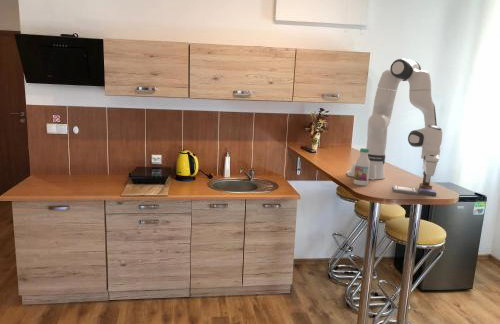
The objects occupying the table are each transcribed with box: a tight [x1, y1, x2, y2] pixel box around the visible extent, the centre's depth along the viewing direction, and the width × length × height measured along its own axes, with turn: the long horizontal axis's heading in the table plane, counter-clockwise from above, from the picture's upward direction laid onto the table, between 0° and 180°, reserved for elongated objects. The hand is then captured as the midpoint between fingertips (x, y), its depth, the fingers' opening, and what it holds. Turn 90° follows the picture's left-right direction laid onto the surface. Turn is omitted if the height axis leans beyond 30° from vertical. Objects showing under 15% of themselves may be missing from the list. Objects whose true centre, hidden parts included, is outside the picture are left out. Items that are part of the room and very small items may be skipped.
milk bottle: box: [353, 147, 370, 186], centre depth 218 cm, size 8×8×20 cm
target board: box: [392, 185, 419, 196], centre depth 210 cm, size 12×10×2 cm
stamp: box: [418, 171, 433, 190], centre depth 215 cm, size 6×4×11 cm
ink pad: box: [417, 188, 437, 197], centre depth 207 cm, size 8×6×2 cm
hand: (426, 180), depth 215 cm, fingers open, 4 cm apart
